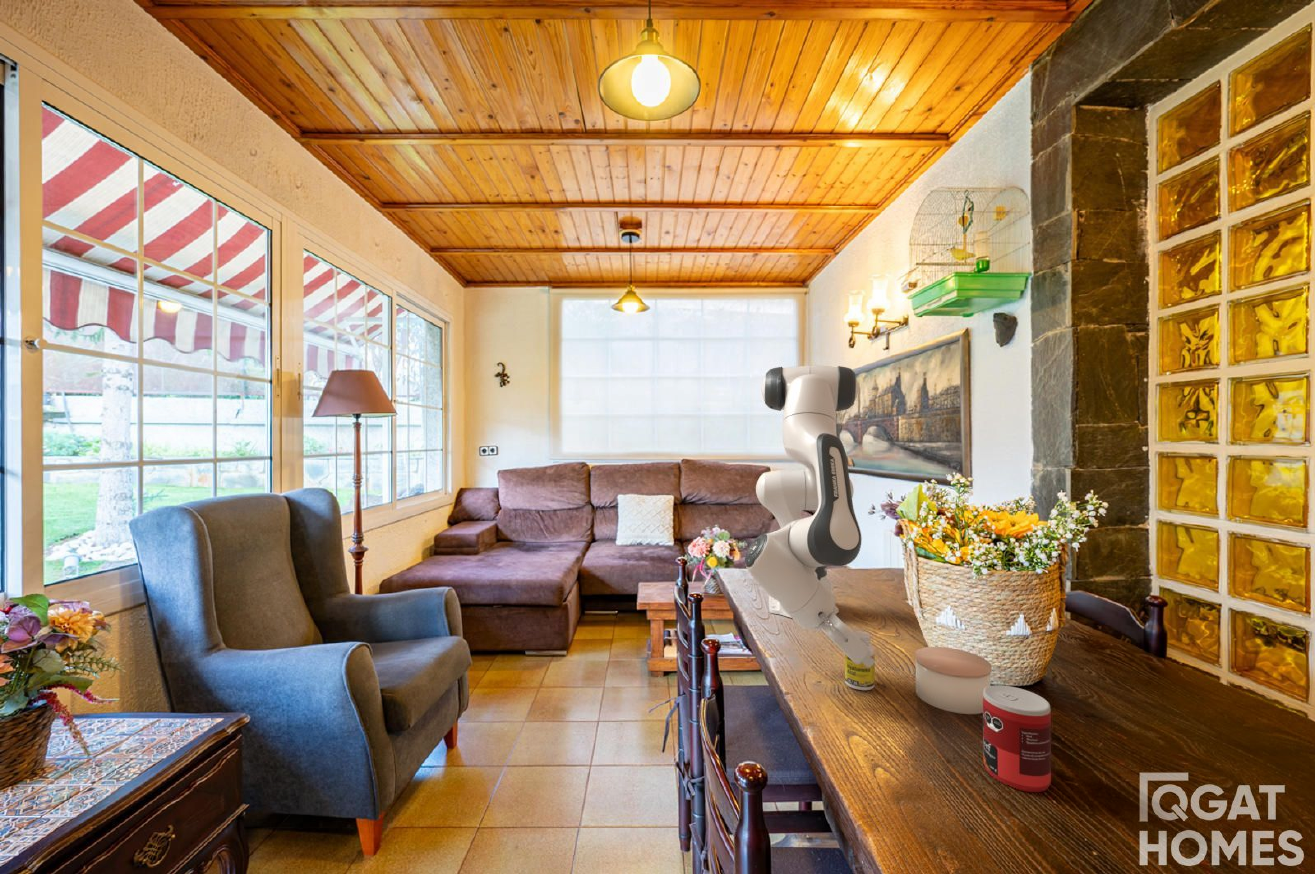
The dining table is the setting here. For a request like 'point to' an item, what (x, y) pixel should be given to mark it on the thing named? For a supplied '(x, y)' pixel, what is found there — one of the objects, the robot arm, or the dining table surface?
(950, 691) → the ceramic canister
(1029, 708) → the canned food
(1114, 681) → the dining table surface
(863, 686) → the supplement bottle
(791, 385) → the robot arm
